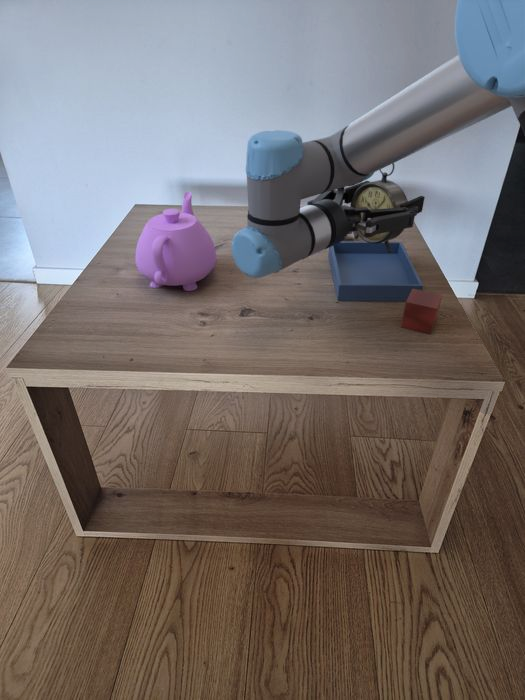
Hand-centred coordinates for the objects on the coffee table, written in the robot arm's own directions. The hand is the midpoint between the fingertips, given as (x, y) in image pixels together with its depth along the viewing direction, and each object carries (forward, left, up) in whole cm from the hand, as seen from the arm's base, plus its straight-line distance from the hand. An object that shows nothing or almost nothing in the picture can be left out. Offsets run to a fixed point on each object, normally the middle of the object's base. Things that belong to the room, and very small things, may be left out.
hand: (393, 195), depth 92 cm
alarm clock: (0, +4, -9) cm, 10 cm away
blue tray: (0, +4, -16) cm, 16 cm away
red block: (-16, +12, -16) cm, 25 cm away
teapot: (+27, +31, -16) cm, 44 cm away
